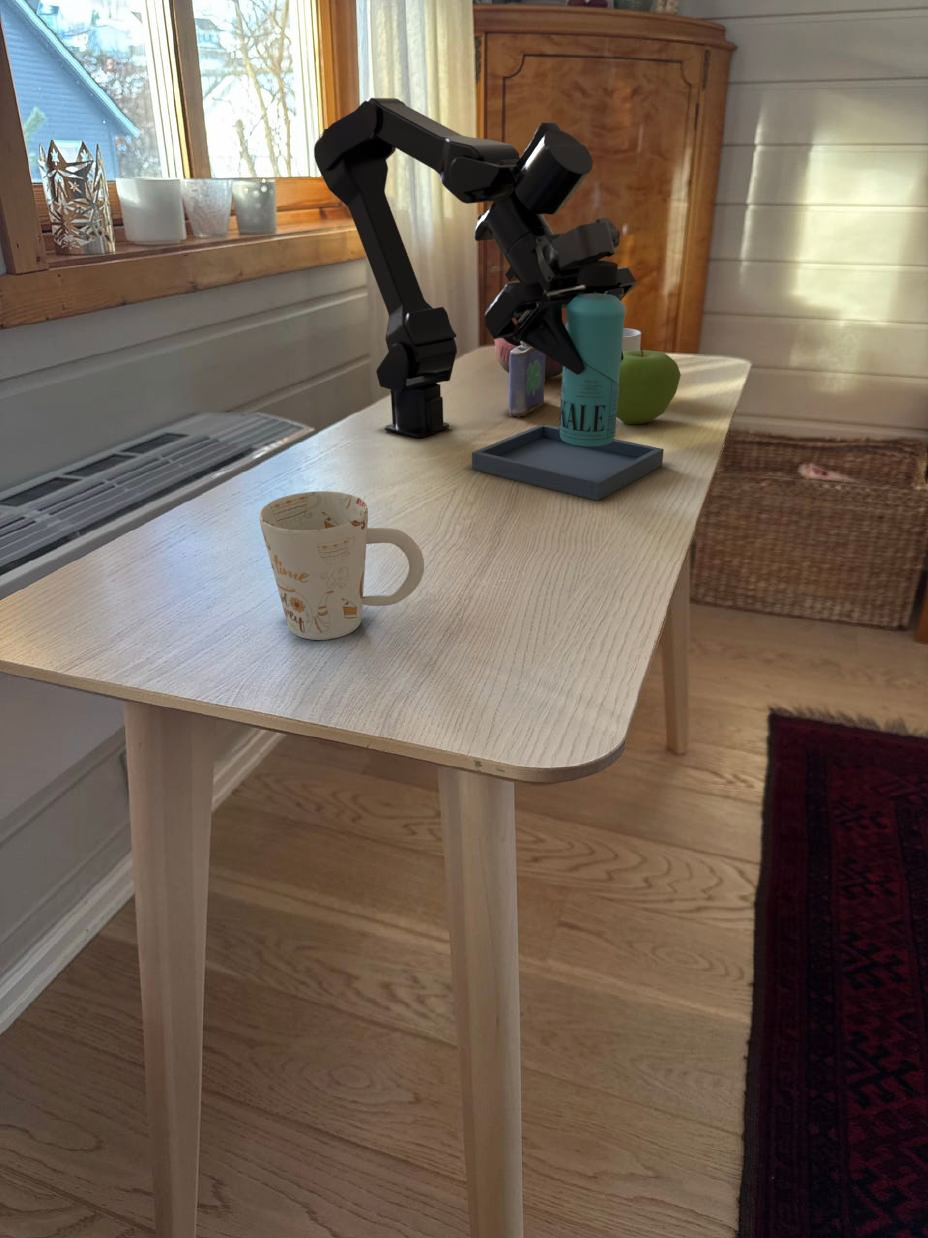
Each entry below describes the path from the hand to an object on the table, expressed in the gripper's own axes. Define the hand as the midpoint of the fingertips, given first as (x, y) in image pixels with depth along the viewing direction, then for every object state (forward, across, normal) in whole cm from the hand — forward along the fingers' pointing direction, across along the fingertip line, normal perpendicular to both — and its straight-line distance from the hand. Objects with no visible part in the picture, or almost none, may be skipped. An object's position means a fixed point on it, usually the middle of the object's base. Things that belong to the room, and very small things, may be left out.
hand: (601, 366), depth 95 cm
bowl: (-19, +31, +39) cm, 53 cm away
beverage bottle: (+6, 0, +8) cm, 10 cm away
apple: (+1, +24, +19) cm, 30 cm away
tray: (+5, +3, +14) cm, 15 cm away
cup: (-9, +33, +28) cm, 44 cm away
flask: (-10, +18, +30) cm, 36 cm away
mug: (+14, -39, +5) cm, 42 cm away
